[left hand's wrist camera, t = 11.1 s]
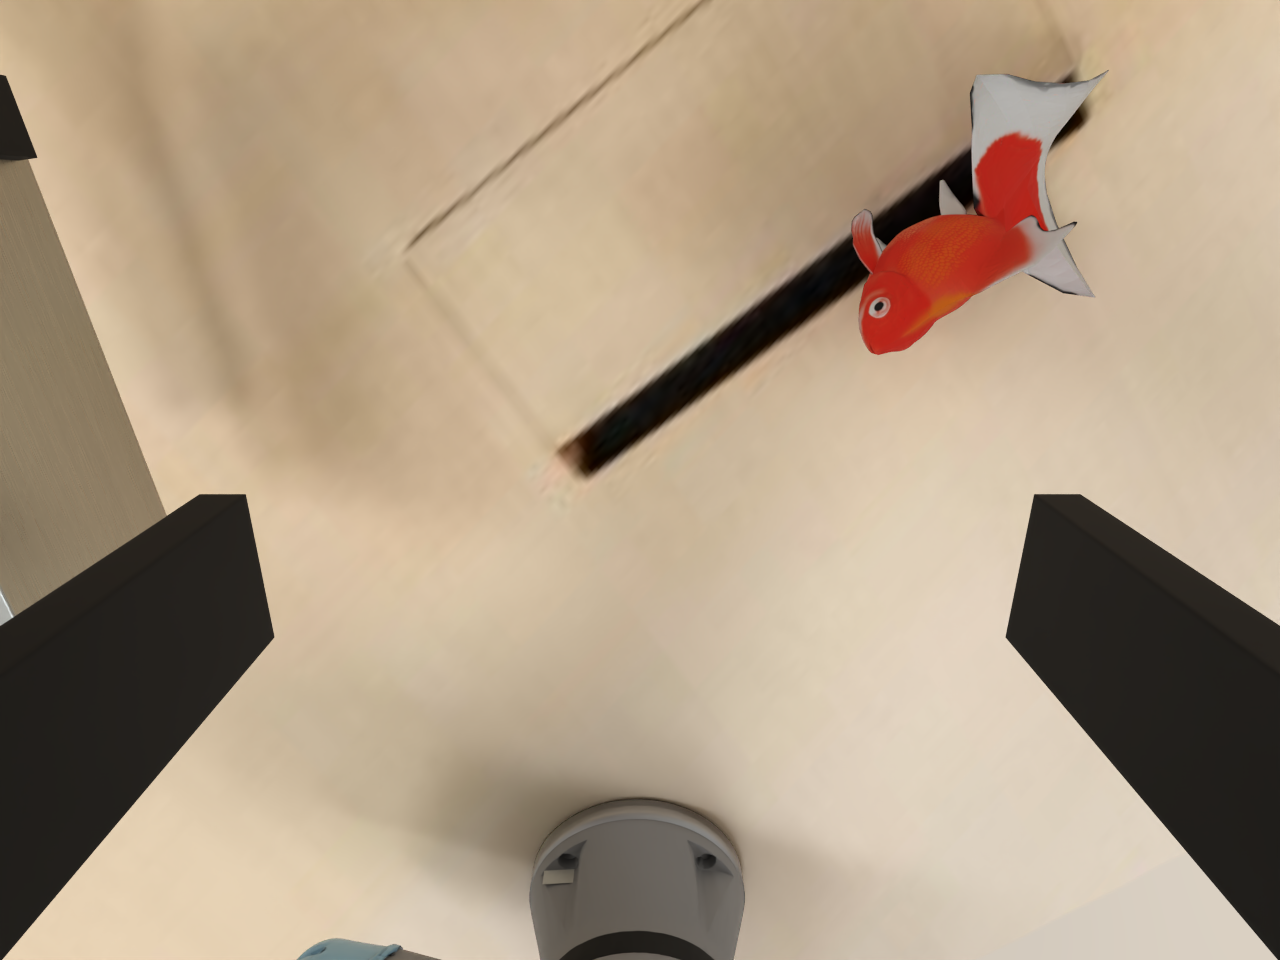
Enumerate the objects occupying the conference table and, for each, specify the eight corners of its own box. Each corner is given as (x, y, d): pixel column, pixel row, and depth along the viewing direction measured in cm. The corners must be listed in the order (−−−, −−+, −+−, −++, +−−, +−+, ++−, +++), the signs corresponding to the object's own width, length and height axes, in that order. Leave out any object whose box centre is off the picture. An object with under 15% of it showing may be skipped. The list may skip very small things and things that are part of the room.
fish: (753, 175, 33) (940, 193, 25) (982, 15, 37) (1207, -13, 29) (810, 367, 39) (973, 427, 32) (1000, 215, 43) (1188, 235, 35)
